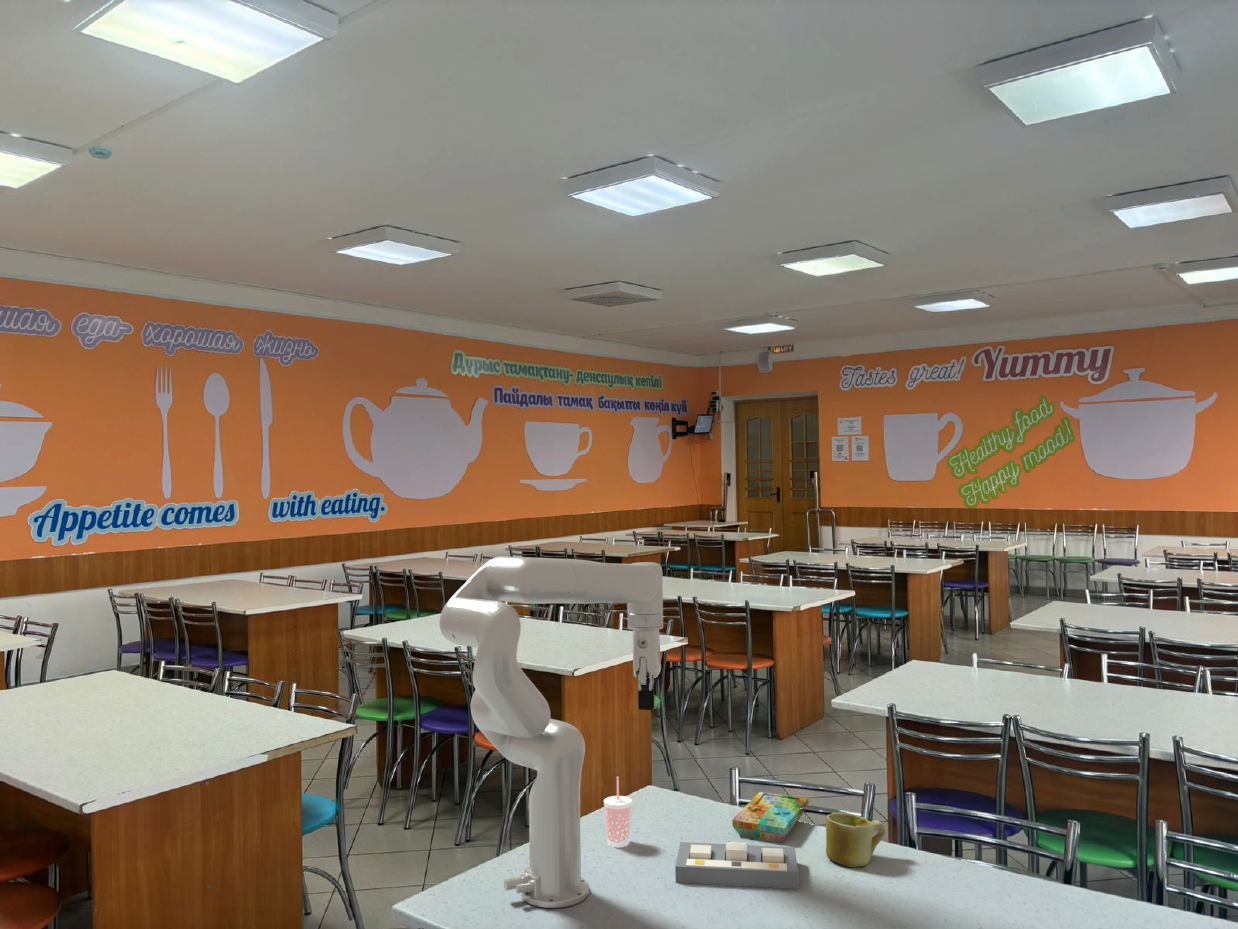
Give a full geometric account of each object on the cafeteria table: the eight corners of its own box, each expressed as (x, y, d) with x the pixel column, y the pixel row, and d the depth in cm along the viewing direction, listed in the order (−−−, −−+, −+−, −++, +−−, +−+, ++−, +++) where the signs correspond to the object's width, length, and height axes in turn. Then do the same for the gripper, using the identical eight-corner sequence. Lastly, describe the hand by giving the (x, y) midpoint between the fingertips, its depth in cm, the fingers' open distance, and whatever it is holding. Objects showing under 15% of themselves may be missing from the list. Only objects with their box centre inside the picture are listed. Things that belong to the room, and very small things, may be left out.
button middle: (747, 866, 168) (746, 850, 168) (726, 865, 168) (725, 849, 168) (747, 858, 172) (746, 842, 172) (726, 857, 172) (726, 841, 172)
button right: (783, 873, 167) (783, 857, 167) (762, 871, 167) (762, 856, 167) (783, 864, 171) (782, 848, 171) (762, 863, 171) (762, 847, 171)
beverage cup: (611, 836, 189) (611, 770, 190) (637, 840, 187) (636, 774, 187) (599, 846, 184) (598, 779, 184) (625, 851, 181) (624, 782, 182)
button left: (710, 869, 169) (710, 853, 169) (690, 868, 169) (689, 852, 169) (711, 861, 173) (711, 845, 173) (691, 860, 173) (691, 844, 173)
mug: (828, 863, 169) (833, 809, 172) (816, 859, 179) (821, 808, 182) (891, 876, 168) (895, 821, 172) (875, 871, 178) (879, 819, 182)
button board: (798, 889, 162) (798, 871, 162) (675, 882, 166) (675, 864, 166) (795, 862, 174) (794, 846, 174) (680, 857, 177) (680, 840, 178)
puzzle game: (732, 816, 188) (759, 788, 206) (732, 838, 188) (759, 808, 206) (785, 824, 183) (808, 795, 201) (785, 847, 183) (808, 815, 201)
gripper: (659, 626, 176) (660, 718, 175) (666, 616, 190) (667, 701, 190) (622, 626, 177) (623, 717, 176) (632, 616, 192) (633, 700, 191)
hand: (646, 708), depth 183 cm, fingers closed
